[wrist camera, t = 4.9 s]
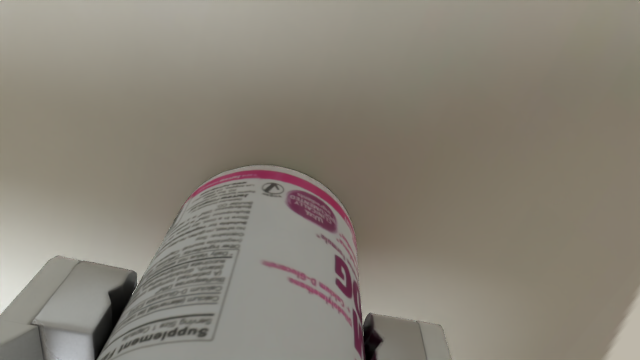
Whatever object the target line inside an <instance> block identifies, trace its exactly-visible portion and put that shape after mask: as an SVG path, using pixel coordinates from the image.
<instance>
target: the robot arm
mask: <svg viewBox="0 0 640 360" xmlns="http://www.w3.org/2000/svg"><path fill="white" fill-rule="evenodd" d="M136 286H137V273H136V272H135V271H133V270H128V269H123V268H118V267H113V266H108V265H103V264H99V263H94V262H89V261H81V260H77V259H72V258H67V257H62V256H56V257H54V258H52V259H50V260H49V261H48V262H47V263H46V264H45V265H44V266H43V267H42V269H41V270H40V271H39V272H38V273H37V274H36V275H35V276H34V278H33V279H32V280H31V281H30V282H29V283H28V284H27V285H26V287H25V288H24V289H23V290H22V291H21V292H20V293H19V294H18V296H17V297H16V298H15V299H14V300H13V301H12V302H11V303H10V305H9V306H8V307H7V308H6V309H5V310H4V311H3V312H2V314H1V315H0V360H97V358H98V357H99V355H100V353H101V351H102V350H103V348H104V346H105V344H106V342H107V340H108V339H109V337H110V335H111V333H112V331H113V329H114V328H115V326H116V324H117V322H118V320H119V319H120V317H121V315H122V313H123V311H124V309H125V307H126V306H127V304H128V302H129V301H130V299H131V297H132V293H133V291H134V290H135V288H136ZM363 332H364V336H363V337H364V350H365V359H366V360H452V359H451V355H450V352H449V348H448V344H447V341H446V337H445V334H444V330H443V328H442V327H441V326H440V325H439V324H433V323H427V322H421V321H414V320H409V319H404V318H398V317H392V316H386V315H380V314H374V313H369V314H368V315H367V317H366V319H365V322H364V324H363Z"/></svg>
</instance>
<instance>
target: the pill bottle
mask: <svg viewBox="0 0 640 360" xmlns="http://www.w3.org/2000/svg"><path fill="white" fill-rule="evenodd" d="M97 360H366V359H365V350H364V337H363V326H362V312H361V297H360V288H359V274H358V260H357V244H356V237H355V232H354V228H353V225H352V222H351V220H350V217H349V215H348V213H347V211H346V209H345V208H344V206H343V205H342V203H341V202H340V201H339V199H338V198H337V197H336V196H335V195H334V194H333V193H332V192H331V191H330V190H329V189H328V188H326V187H325V186H324V185H322V184H321V183H319V182H318V181H316V180H315V179H313V178H311V177H309V176H307V175H305V174H303V173H300V172H298V171H295V170H292V169H288V168H284V167H279V166H270V165H254V166H246V167H241V168H236V169H233V170H229V171H226V172H223V173H220V174H218V175H216V176H214V177H212V178H211V179H209V180H207V181H206V182H204V183H203V184H202V185H200V186H199V187H198V188H197V189H196V190H195V191H194V192H193V193H192V194H191V196H190V197H189V198H188V199H187V201H186V202H185V204H184V205H183V206H182V208H181V210H180V211H179V213H178V215H177V217H176V218H175V220H174V222H173V224H172V225H171V227H170V229H169V230H168V232H167V234H166V236H165V238H164V240H163V242H162V243H161V245H160V247H159V249H158V250H157V252H156V254H155V256H154V258H153V259H152V261H151V263H150V265H149V266H148V268H147V270H146V272H145V274H144V275H143V277H142V279H141V281H140V283H139V284H138V286H137V288H136V290H135V292H134V293H133V295H132V297H131V299H130V301H129V302H128V304H127V306H126V307H125V309H124V311H123V313H122V315H121V317H120V319H119V320H118V322H117V324H116V326H115V328H114V329H113V331H112V333H111V335H110V337H109V339H108V340H107V342H106V344H105V346H104V348H103V350H102V351H101V353H100V355H99V357H98V358H97Z"/></svg>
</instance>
